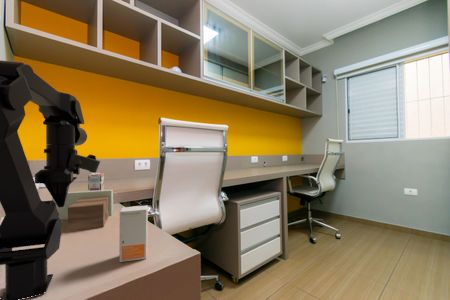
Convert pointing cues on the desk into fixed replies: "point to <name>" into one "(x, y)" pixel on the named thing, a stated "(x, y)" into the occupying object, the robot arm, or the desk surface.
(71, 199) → the sage board
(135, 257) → the skincare box
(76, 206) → the walnut block
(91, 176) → the candy bar box
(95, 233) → the desk surface
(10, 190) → the robot arm
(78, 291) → the desk surface
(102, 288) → the desk surface
